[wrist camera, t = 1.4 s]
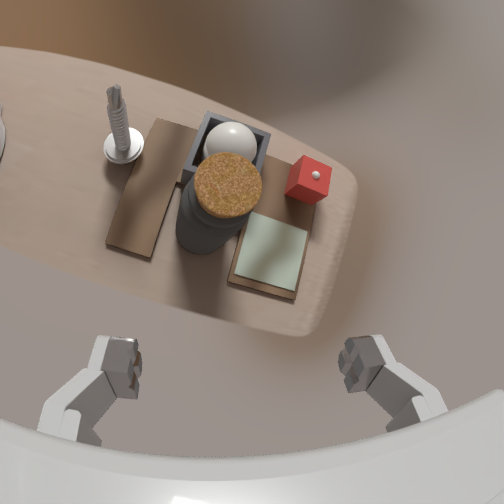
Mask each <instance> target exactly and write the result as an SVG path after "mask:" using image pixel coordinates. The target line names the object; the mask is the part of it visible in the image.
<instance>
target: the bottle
mask: <svg viewBox="0 0 504 504" xmlns="http://www.w3.org/2000/svg"><path fill="white" fill-rule="evenodd" d="M261 193H262V180H261V177H260V174H259V172H258V170H257V169H256V167H255V166H254V165H253V164H252V163H251V162H250V161H249V160H248V159H246V158H245V157H243V156H241V155H239V154H235V153H231V152H221V153H216V154H213V155H211V156H209V157H207V158H206V159H205V160H203V162H202V163H201V164H200V165H199V167H198V168H197V170H196V172H195V173H194V175H193V176H192V178H191V180H190V181H189V182H188V184H187V185H186V186H185V188H184V191H183V193H182V197H181V201H180V206H179V211H178V216H177V221H176V235H177V238H178V240H179V242H180V244H181V245H182V246H183V247H184V248H185V249H186V250H188V251H189V252H191V253H194V254H201V255H202V254H208V253H211V252H213V251H215V250H216V249H218V248H219V247H220V246H222V245H223V244H224V243H225V242H227V241H228V240H229V239H230V238H231V237H232V236H234V235H235V234H236V233H237V232H238V231H239V230H240V229H241V228H242V227H243V226H244V225H245V223H246V222H247V220H248V218H249V215H250V214H251V212H252V211H253V209H254V207H255V206H256V204H257V203H258V201H259V200H260V197H261Z"/></svg>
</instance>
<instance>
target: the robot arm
mask: <svg viewBox="0 0 504 504" xmlns="http://www.w3.org/2000/svg"><path fill="white" fill-rule="evenodd" d="M1 111H2V103H1V102H0V158H1V155H2V152H3V148H4V143H5V128H4V124H3V122H2V119H1ZM338 363H339V369H340V371H341V373H343V374H344V375H345V379H344V383H345V385H346V388H347V391H348V393H353V392H360V391H366V392H367V393H368V394H369V395H370V396H371V397H372V398H373V399H374V400H375V401H376V402H377V403H378V404H379V405H380V406H381V407H382V408H383V409H384V410H386V411H387V412H388V413H389V414H390V415H391V416H392V417H393V419H392V420H391V421H390V422H389V423H388V424H387V426H386V430H387V433H384V434H381V435H377V436H374V437H370V438H366V439H361V440H357V441H353V442H348V443H344V444H339V445H334V446H328V447H323V448H317V449H311V450H304V451H297V452H289V453H281V454H271V455H257V456H241V457H186V456H169V455H157V454H146V453H137V452H130V451H123V450H116V449H111V448H105V447H101V443H102V440H101V439H100V438H99V436H98V435H97V434H96V433H95V432H94V430H93V429H92V428H93V427H94V425H95V424H96V423H97V422H98V421H99V419H100V418H101V417H102V416H103V415H104V413H105V412H106V411H107V410H108V409H109V407H110V406H111V405H112V404H113V403H114V402H115V400H116V399H117V398H126V399H138V392H139V382H138V378H139V377H140V376H141V372H142V358H141V353H140V352H139V351H138V342H137V339H130V338H121V337H112V336H103V335H99V336H98V337H97V338H96V342H95V344H94V347H93V351H92V354H91V357H90V360H89V364H88V367H87V369H86V368H83V369H82V370H81V371H80V372H79V373H78V374H76V375H75V376H74V377H73V378H72V379H71V380H69V381H68V382H67V383H66V384H65V385H64V386H63V387H61V388H60V389H59V390H58V391H57V392H56V393H55V394H53V395H52V396H51V397H50V398H49V399H48V400H47V401H45V403H44V406H43V410H42V413H41V417H40V420H39V424H38V427H37V431H36V430H33V429H30V428H27V427H24V426H21V425H18V424H16V423H13V422H10V421H8V420H5V419H3V418H0V504H504V391H503V390H501V389H496V390H493V391H491V392H489V393H487V394H485V395H483V396H481V397H479V398H477V399H475V400H473V401H471V402H469V403H466V404H464V405H462V406H460V407H458V408H455V409H453V410H450V411H448V410H447V407H446V405H445V403H444V401H443V399H442V397H441V395H440V393H439V391H438V390H437V389H436V388H435V387H434V386H432V385H431V384H429V383H428V382H426V381H425V380H424V379H422V378H421V377H419V376H418V375H417V374H415V373H414V372H412V371H411V370H409V369H408V368H407V367H405V366H404V365H402V364H401V363H397V362H396V361H395V359H394V357H393V355H392V353H391V351H390V349H389V347H388V345H387V343H386V342H385V340H384V338H383V336H382V335H370V336H359V337H350V338H348V339H347V340H346V342H345V348H344V349H343V350H341V352H340V354H339V360H338Z"/></svg>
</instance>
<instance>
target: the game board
mask: <svg viewBox="0 0 504 504" xmlns="http://www.w3.org/2000/svg"><path fill="white" fill-rule="evenodd" d="M197 133H198V130H196V129H192V128H189V127H186V126H183V125H180V124H176V123H173V122H170V121H166V120H163V119H159V118H156V120H155V122H154V124H153V126H152V128H151V130H150V132H149V135H148V137H147V139H146V141H145V143H144V147H143V151H142V153H141V154H140V156H139V157H138V158H137V160H136V163H135V165H134V167H133V170H132V172H131V174H130V177H129V179H128V182H127V184H126V186H125V189H124V191H123V194H122V196H121V199H120V202H119V204H118V207H117V210H116V212H115V215H114V218H113V221H112V223H111V226H110V229H109V232H108V235H107V238H106V241H105V243H106V244H109V245H112V246H115V247H118V248H121V249H124V250H127V251H130V252H133V253H136V254H139V255H142V256H146V257H149V258H151V255H152V252H153V249H154V245H155V242H156V239H157V236H158V233H159V230H160V227H161V224H162V221H163V218H164V215H165V212H166V209H167V206H168V204H169V201H170V198H171V195H172V192H173V190H174V187H175V184H176V183H179V184H182V185H185V186H186V185H187V184H184V183H181V176H182V171H183V167H184V165H185V162H186V159H187V157H188V154H189V152H190V149H191V147H192V145H193V142H194V140H195V137H196V135H197ZM207 136H208V135H207V134H205V136H204V138H203V141H202V143H201V146H200V149H199V151H198V154H197V156H196V159H195V161H194V164H193V166H196V167H199V165H200V164H201V154H202V151H203V148H204V145H205V141H206V138H207ZM292 166H293V165H291V164H289V163H286V162H284V161H281V160H279V159H276V158H274V157H271V156H269V155H266V154H265V158H264V161H263V165H262V168H261V172H260V177H261V180H262V193H261V197H260V200H259V201H258V203H257V204H256V206H255V207H254V209H253V211H252V212H251V214H250V215H249V218H248V220H247V222H246V223H245V225H244V226H243V227H242V228H241V231H240V235H239V238H238V242H237V246H236V249H235V253H234V257H233V260H232V264H231V268H230V272H229V275H228V279H227V281H228V282H231V283H235V284H238V285H242V286H245V287H249V288H252V289H256V290H259V291H263V292H266V293H270V294H274V295H277V296H281V297H285V298H288V299H292V300H295V299H296V294H297V290H298V286H299V281H300V277H301V272H302V268H303V263H304V259H305V254H306V249H307V245H308V240H309V235H310V230H311V225H312V220H313V215H314V210H315V205H316V203H315V204H313V205H310V204H308V203H305V202H303V201H300V200H297V199H295V198H292V197H290V196H287V195H285V194H284V193H285V189H286V184H287V180H288V176H289V172H290V168H291V167H292Z"/></svg>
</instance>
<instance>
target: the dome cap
mask: <svg viewBox="0 0 504 504" xmlns="http://www.w3.org/2000/svg"><path fill="white" fill-rule="evenodd" d="M221 152H231V153H235V154H239V155H241V156H243V157H245V158H246V159H248V160H249V161H250V162H252V161H253V159H254V158H255V156H256V152H257V142H256V139H255V136H254V134H253V133H252V131H251V130H250V129H249V128H248V127H246V126H245V125H243V124H241V123H238V122H225V123H222V124H219V125H218V126H216V127H215V128H213V129H212V130H211V131H210V132H209V134H208V136H207V138H206V141H205V145H204V148H203V151H202V154H201V163H202V162H203V160H205V159H206V158H207V157H209V156H211V155H213V154H216V153H221Z"/></svg>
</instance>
